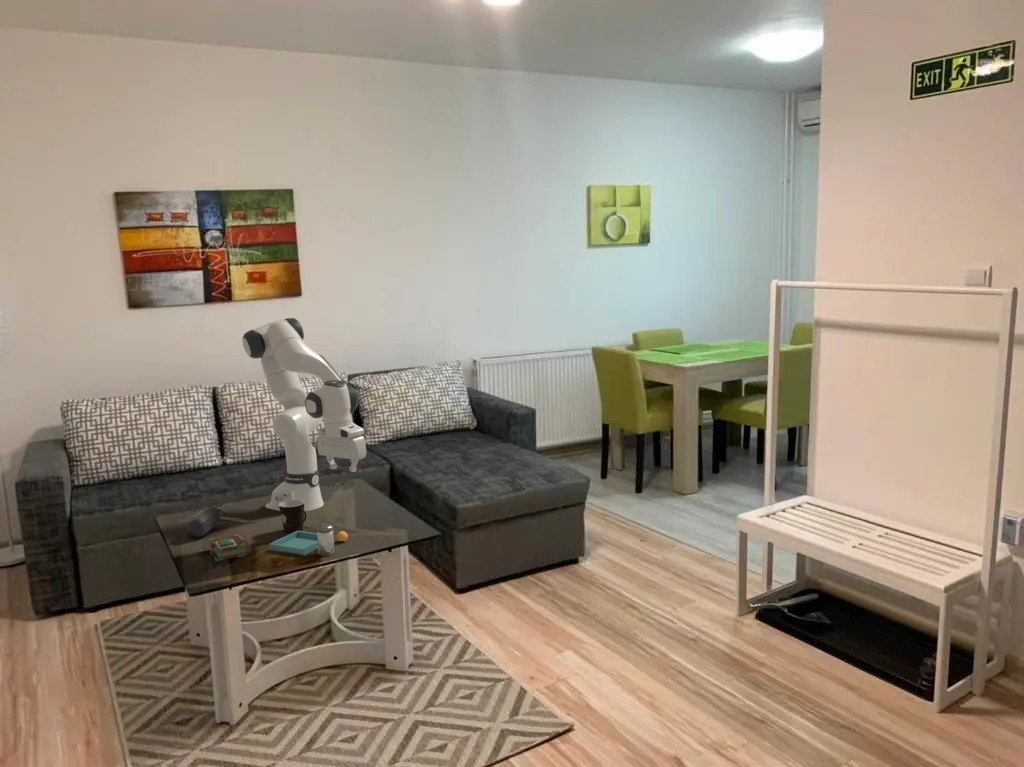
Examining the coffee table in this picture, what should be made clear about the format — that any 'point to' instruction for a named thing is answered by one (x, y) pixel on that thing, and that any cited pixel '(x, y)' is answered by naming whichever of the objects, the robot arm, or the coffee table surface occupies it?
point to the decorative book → (228, 547)
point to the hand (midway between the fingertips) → (343, 470)
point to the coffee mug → (292, 515)
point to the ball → (342, 536)
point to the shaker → (325, 539)
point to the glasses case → (204, 521)
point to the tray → (296, 543)
